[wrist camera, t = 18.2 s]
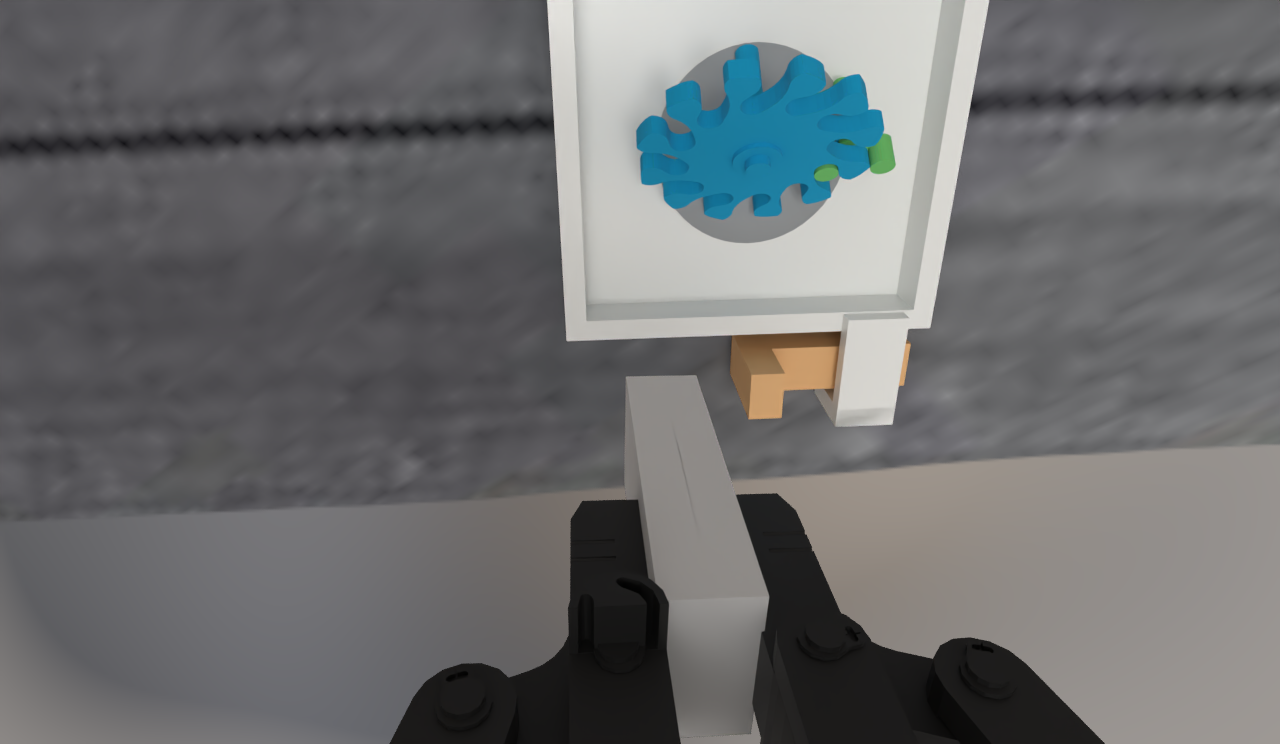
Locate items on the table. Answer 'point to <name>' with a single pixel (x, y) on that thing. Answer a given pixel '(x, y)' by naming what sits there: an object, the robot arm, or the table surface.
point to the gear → (763, 138)
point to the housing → (743, 243)
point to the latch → (785, 367)
